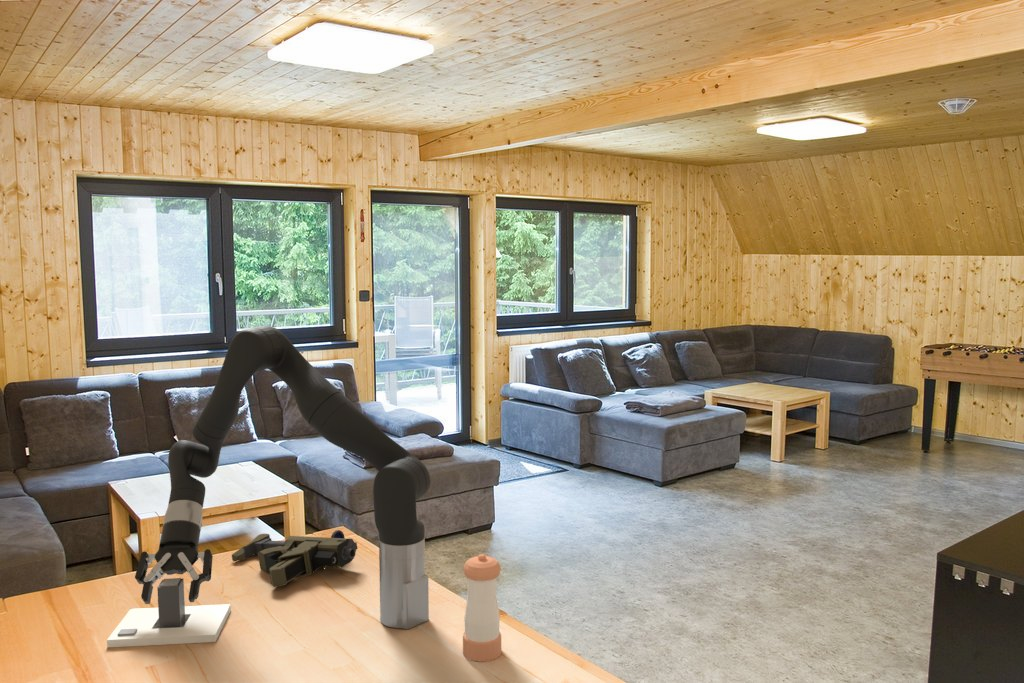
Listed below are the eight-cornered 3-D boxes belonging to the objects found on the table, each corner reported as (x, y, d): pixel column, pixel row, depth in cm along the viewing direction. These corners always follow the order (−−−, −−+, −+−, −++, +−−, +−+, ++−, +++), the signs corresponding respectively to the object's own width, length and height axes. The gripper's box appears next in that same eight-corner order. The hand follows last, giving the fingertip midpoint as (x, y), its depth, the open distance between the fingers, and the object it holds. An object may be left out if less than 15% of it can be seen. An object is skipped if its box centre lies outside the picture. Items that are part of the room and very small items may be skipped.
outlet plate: (230, 610, 177) (230, 602, 177) (215, 642, 163) (215, 632, 163) (131, 615, 174) (130, 606, 174) (107, 647, 161) (106, 638, 160)
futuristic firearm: (308, 569, 182) (372, 526, 204) (200, 561, 195) (272, 522, 217) (313, 601, 183) (377, 555, 205) (205, 591, 196) (276, 549, 218)
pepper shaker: (476, 640, 164) (476, 545, 162) (508, 649, 160) (508, 552, 158) (455, 655, 158) (454, 557, 156) (488, 665, 154) (487, 564, 152)
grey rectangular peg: (185, 623, 171) (183, 577, 170) (180, 632, 167) (178, 584, 166) (164, 624, 170) (162, 578, 169) (159, 633, 166) (157, 586, 165)
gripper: (142, 519, 173) (126, 596, 163) (213, 517, 175) (202, 592, 165) (151, 536, 179) (136, 610, 169) (220, 533, 181) (209, 607, 171)
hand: (169, 601), depth 167 cm, fingers open, 8 cm apart
